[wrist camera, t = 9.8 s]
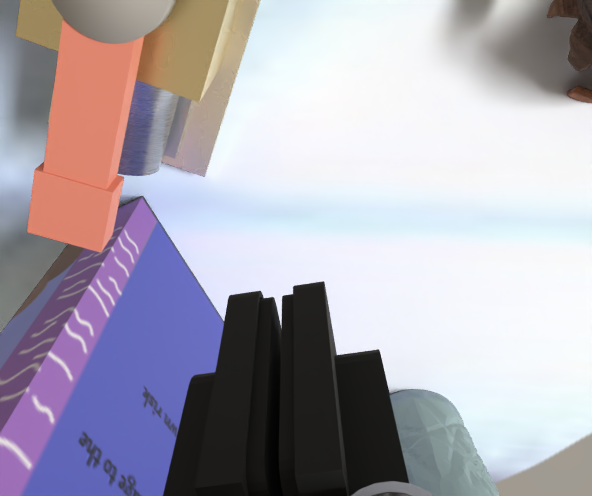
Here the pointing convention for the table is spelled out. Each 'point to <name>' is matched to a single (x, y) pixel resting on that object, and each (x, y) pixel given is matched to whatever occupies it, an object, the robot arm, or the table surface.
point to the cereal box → (103, 366)
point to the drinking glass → (438, 446)
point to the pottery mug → (577, 39)
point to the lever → (90, 118)
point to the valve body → (170, 79)
